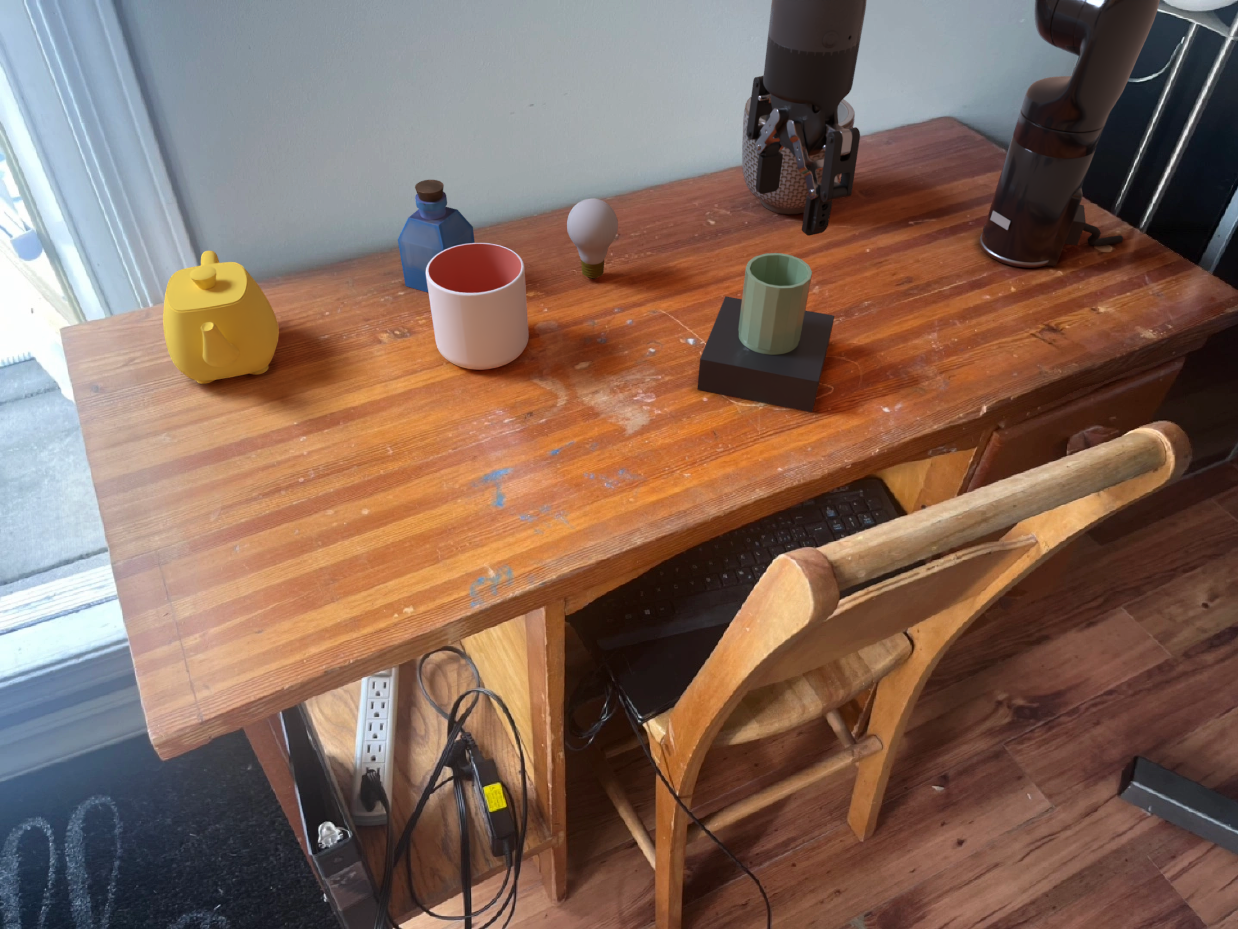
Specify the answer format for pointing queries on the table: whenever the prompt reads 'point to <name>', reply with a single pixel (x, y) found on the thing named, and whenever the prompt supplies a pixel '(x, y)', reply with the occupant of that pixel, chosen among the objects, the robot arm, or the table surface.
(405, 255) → the perfume bottle
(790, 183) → the planter
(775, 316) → the sage cup
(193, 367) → the teapot
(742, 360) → the riser
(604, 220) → the light bulb
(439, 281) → the cup
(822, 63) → the robot arm
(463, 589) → the table surface
